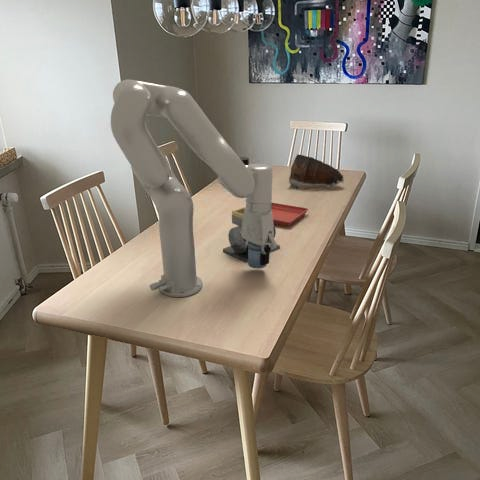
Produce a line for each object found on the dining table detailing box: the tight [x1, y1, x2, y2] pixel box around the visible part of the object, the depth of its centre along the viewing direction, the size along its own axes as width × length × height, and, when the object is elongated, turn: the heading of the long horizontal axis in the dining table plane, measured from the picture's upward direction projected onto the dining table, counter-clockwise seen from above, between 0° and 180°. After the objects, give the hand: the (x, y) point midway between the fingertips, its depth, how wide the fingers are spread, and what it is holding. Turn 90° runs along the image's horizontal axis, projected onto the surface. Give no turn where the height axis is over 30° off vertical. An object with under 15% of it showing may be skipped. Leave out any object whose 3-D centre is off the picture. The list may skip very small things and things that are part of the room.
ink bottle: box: [238, 156, 250, 165], centre depth 239 cm, size 10×9×12 cm
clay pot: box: [288, 154, 345, 190], centre depth 227 cm, size 15×15×25 cm
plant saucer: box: [271, 202, 309, 228], centre depth 192 cm, size 18×18×3 cm
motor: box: [222, 206, 281, 263], centre depth 162 cm, size 16×12×14 cm
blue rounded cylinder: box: [247, 242, 268, 270], centre depth 147 cm, size 6×6×7 cm
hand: (257, 260), depth 148 cm, fingers closed on blue rounded cylinder, 5 cm apart
